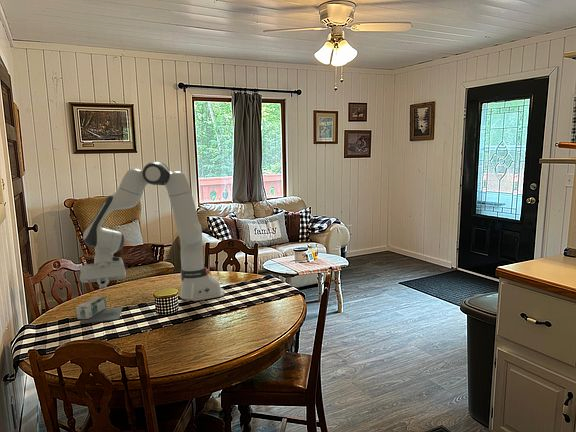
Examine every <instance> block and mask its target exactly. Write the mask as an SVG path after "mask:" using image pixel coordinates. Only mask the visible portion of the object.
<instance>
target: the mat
mask: <svg viewBox="0 0 576 432" xmlns="http://www.w3.org/2000/svg"><path fill="white" fill-rule="evenodd" d="M122 311H123V306H118V307H111V308H106V309H104V310H102V311H100V312H99V313H97V314H95V315H94V316H92V317H90V318H89V319H80V322H79V325H83V324H93V323H100V322H107V321H108V322H110V321H117V320H120V318H121V315H122V314H121V313H122Z"/></svg>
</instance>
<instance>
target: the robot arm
mask: <svg viewBox="0 0 576 432" xmlns="http://www.w3.org/2000/svg"><path fill="white" fill-rule="evenodd" d="M148 185H152V186H164V187H165V188H166V191H167V195H168V198H169V202H170V206H171V209H172V213H173V218H174V221H175V222H174V223H175V226H176V229H177V230H176V231H177V233H178V237H179V240H180V241H179V242H180V263H181V269H180V279H181V290H180V295H179V298H180V299H183V300H188V301H193V302H197V301H198V302H199V301H203V300H208V299H214V298H219V297H223V296H225V294H226V291H225V289H224V288H223V287H221V284H220V283H219V280H217V279H216V278H215V277H213V276H212V275H210V269H208V268H207V267H205V264H204V263H205V262H204V247H203V246H204V243H203V229H202V224H201V222H200V220H199V217H198V213H197V208H196V204H195V200H194V197H193V192H192V190H191V186H190V183H189V181H188V178H187V177H186V174H185V173H184V172H182V171H179V170H176V171H170V169H169V167H168V166H167V165H166V164H165V163H164V162H159V161H152V162H149V163H146V165H144V167H143V169H139V168H135V167H134V168H133V167H132V168H130V169H128V170H127V171H126V173H125V174H124V175H123V177H122V179H121V182H120V184H119V185H118V186H119V187H118V189H117V190H116V191H115V192H114V194H112V195H108V196H107V197H106V199H105V200H104V201H103V202H102V204H101V205H100V207H99V209H98V210H97V212H96V213H95V216H94V217H93V219H92V221H91V222H89V225H88V226H87V227H86V229H85V230H84V232H83V234H82V235H83V236H82V241H83V242H84V244H85V245H86V246H87V247H91V248H92V247H93V248H94V253H95V255H94V257H93V259H94V260H93V263H90V264H89V263H88V264H86V263H85V264H84V265H82V266H80V270H79V272H80V274H79V280H80V282H81V283H82V284H84V283H86V284H87V283H95V282H97V284H98V285H99V289H102V290H103V289H107V286H108V284H109V283H110V281H116V280H124V279H126V277H127V273H126V268H125V267H126V266H125V264H124V260H123V258H122V257H120V256H119V257H118V256H114V254H115V253H118V252H119V251H120V250H122V248H123V247H124V246H125V236H124V234H123V232H122V231H117V230H114V229H109V228H105V227H102V225H103V224H104V222H105V220H106V219H107V217H108V215H109V214H110V213H111V212H114V211H117V210H128V209H132V208H134V207H136V206H137V205H138V204H139V202H140V201H141V199H142V196H143V193H144V190H145V189H146V187H147V186H148ZM102 282H104V283H102Z"/></svg>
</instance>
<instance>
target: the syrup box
mask: <svg viewBox="0 0 576 432" xmlns="http://www.w3.org/2000/svg"><path fill="white" fill-rule="evenodd" d="M104 309H108V305H107V298H106V296H94V297H92V298H90V299H89V300H86V301H85V302H83V303H81V304H79V305H76V306H75V312H76V318H77V320H82V319H89V318H90V317H92V316H94V315H95V314H97V313H99V312H100V311H102V310H104Z"/></svg>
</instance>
